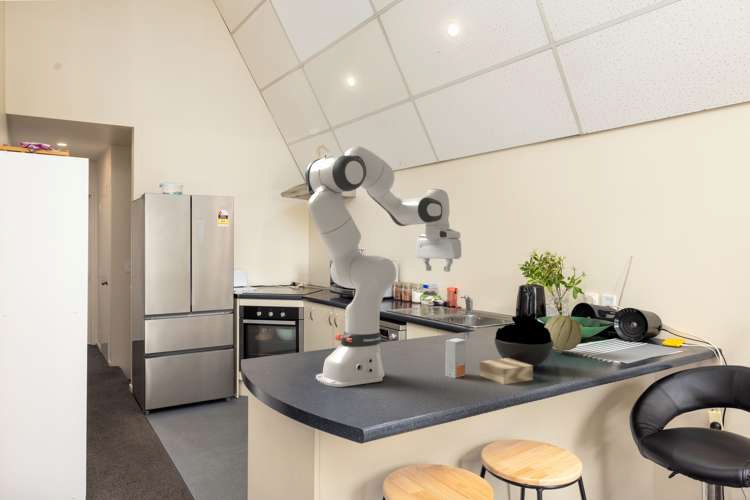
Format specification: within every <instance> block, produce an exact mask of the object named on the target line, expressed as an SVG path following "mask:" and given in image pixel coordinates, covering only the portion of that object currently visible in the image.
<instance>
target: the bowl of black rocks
mask: <svg viewBox="0 0 750 500" xmlns="http://www.w3.org/2000/svg"><path fill="white" fill-rule="evenodd" d="M536 316H537V313H534V312H533V313H532V314H529V315H528V316H527V315H526V316H525V315H522V316H521V315H516V316H512V317H511V320H512V322H513V323H510V324H509V323H508V324H505V325H504V326H502V327H498V328H497V329H496V333H495V337H494V344H495V348H496V350H497V352H498V354H499V356H500V357H501V359H503V358H510V359H513V360H517V361H520V362H523V363H527V364H530V365H533V368H534V367H537V366H540V365H541V364H543V363H544V362H545V361H546V360H547V359H548V358H549V356H550V355H551V353H552V351H553V348H554V347H553V340H551V334H550V332H549V330H548V329H547V328H545V325H544V323H543V322H541V321H539V320H537V319H536Z"/></svg>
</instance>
